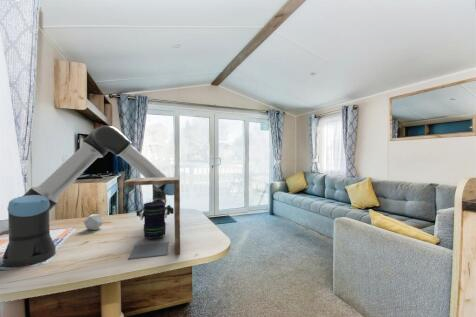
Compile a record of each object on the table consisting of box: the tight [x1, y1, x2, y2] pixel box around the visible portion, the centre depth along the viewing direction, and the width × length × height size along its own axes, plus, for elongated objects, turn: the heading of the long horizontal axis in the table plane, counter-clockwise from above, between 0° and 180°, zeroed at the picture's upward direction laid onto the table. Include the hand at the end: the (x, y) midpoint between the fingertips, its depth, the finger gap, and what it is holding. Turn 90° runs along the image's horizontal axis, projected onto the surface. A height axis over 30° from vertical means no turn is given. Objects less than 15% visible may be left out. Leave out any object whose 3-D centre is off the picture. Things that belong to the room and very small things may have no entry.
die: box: [83, 213, 104, 231], centre depth 123 cm, size 8×9×10 cm
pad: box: [127, 241, 169, 260], centre depth 94 cm, size 14×13×1 cm
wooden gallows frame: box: [123, 176, 181, 256], centre depth 94 cm, size 20×14×30 cm
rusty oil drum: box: [143, 201, 166, 239], centre depth 109 cm, size 10×10×15 cm
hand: (153, 216), depth 105 cm, fingers closed on rusty oil drum, 10 cm apart
